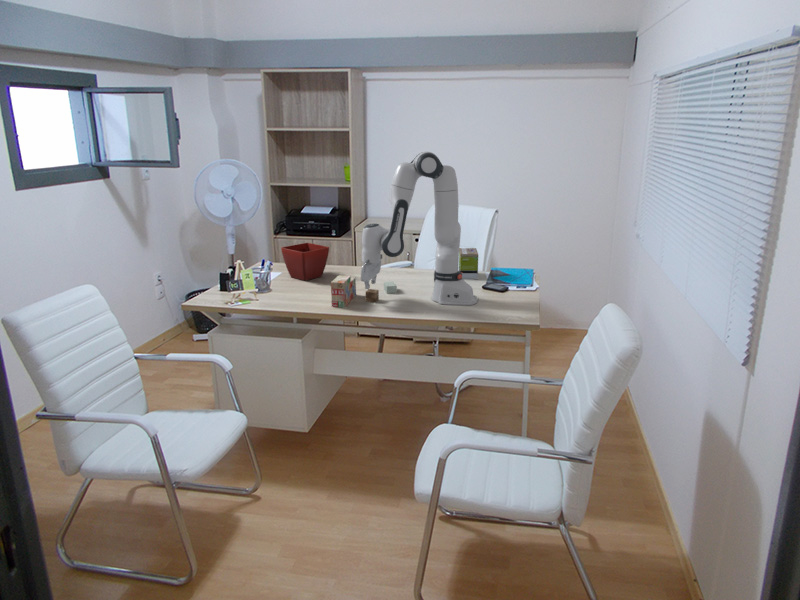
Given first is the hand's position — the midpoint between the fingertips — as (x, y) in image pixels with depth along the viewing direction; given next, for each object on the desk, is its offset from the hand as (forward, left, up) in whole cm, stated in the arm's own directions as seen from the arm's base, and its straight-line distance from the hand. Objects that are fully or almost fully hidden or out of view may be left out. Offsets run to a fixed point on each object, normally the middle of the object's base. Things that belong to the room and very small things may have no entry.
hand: (370, 286), depth 284 cm
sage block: (-5, -18, -8) cm, 20 cm away
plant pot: (+47, -32, -8) cm, 58 cm away
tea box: (-39, -58, -8) cm, 70 cm away
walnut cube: (-1, 0, -7) cm, 7 cm away
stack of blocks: (+12, +3, -8) cm, 15 cm away
